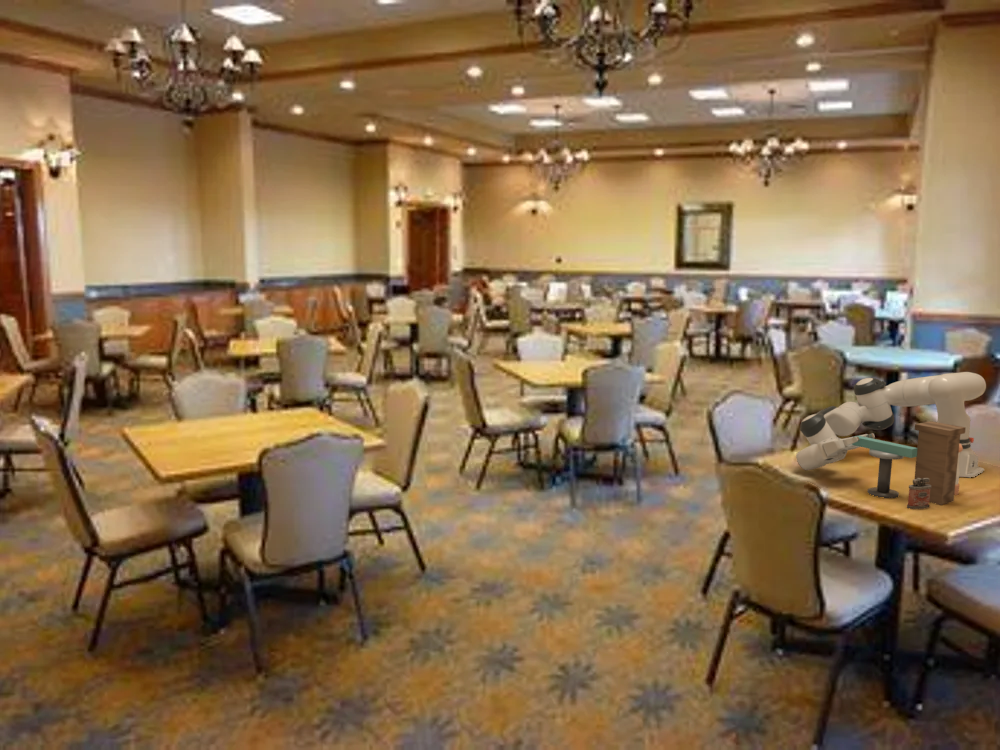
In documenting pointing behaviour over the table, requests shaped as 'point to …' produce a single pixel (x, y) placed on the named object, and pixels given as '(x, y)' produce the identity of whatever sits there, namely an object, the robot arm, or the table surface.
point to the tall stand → (938, 458)
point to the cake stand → (884, 474)
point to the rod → (886, 447)
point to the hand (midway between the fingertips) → (865, 437)
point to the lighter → (919, 494)
